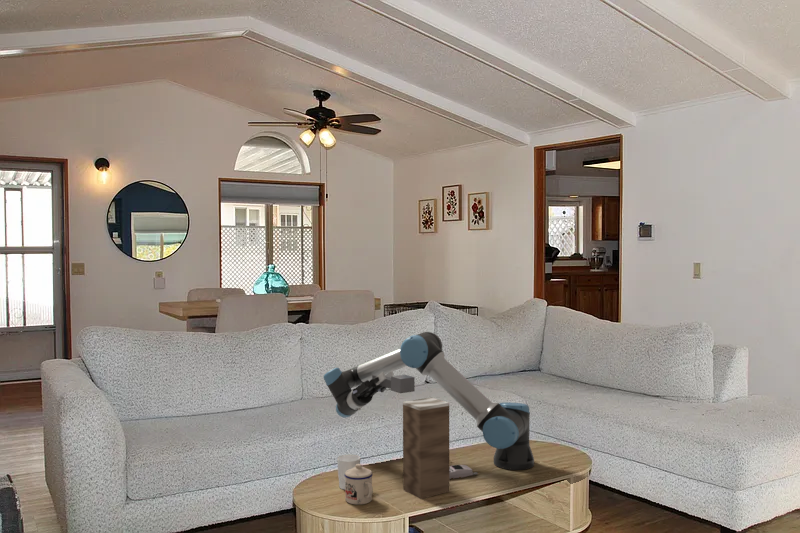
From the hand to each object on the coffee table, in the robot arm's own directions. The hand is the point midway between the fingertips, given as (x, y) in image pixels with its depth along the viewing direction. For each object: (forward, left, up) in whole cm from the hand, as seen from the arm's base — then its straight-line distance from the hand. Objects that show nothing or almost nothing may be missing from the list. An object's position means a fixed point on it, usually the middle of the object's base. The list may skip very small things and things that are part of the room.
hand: (388, 374), depth 252 cm
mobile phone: (-19, +6, -36) cm, 41 cm away
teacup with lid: (+10, +28, -36) cm, 47 cm away
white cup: (+14, +14, -36) cm, 41 cm away
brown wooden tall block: (-12, +20, -36) cm, 42 cm away
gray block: (-1, +2, -4) cm, 5 cm away
